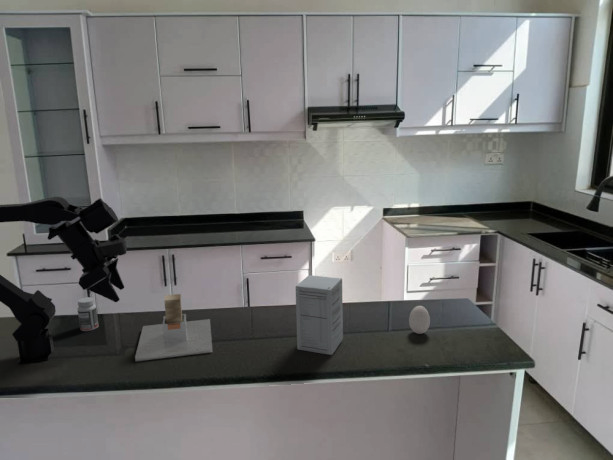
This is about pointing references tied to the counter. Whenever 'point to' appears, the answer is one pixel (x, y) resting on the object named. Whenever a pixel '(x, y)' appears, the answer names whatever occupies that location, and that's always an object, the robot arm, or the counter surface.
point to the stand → (174, 339)
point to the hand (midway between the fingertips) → (120, 294)
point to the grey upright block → (319, 314)
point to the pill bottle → (87, 314)
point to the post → (173, 308)
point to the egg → (419, 320)
